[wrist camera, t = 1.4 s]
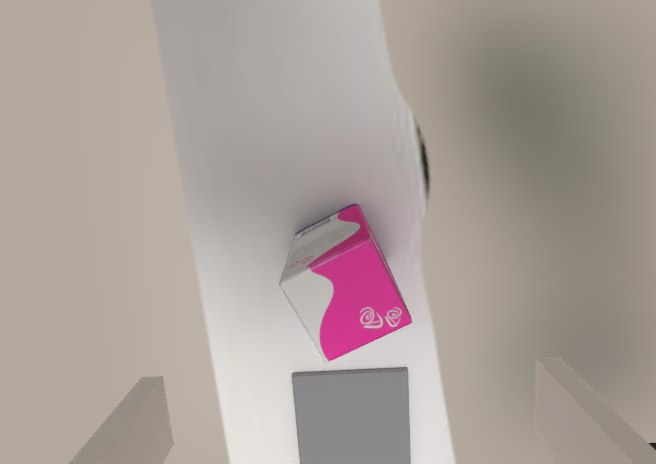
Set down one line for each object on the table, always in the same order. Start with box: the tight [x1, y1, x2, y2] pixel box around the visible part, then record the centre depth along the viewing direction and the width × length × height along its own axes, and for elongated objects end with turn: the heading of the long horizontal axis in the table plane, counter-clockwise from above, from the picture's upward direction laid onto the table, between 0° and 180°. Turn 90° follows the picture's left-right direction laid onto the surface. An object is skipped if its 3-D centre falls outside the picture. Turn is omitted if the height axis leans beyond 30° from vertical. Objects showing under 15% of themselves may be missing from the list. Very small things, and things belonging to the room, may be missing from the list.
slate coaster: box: [292, 368, 411, 464], centre depth 37 cm, size 10×10×1 cm
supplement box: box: [279, 204, 412, 362], centre depth 28 cm, size 6×6×12 cm
